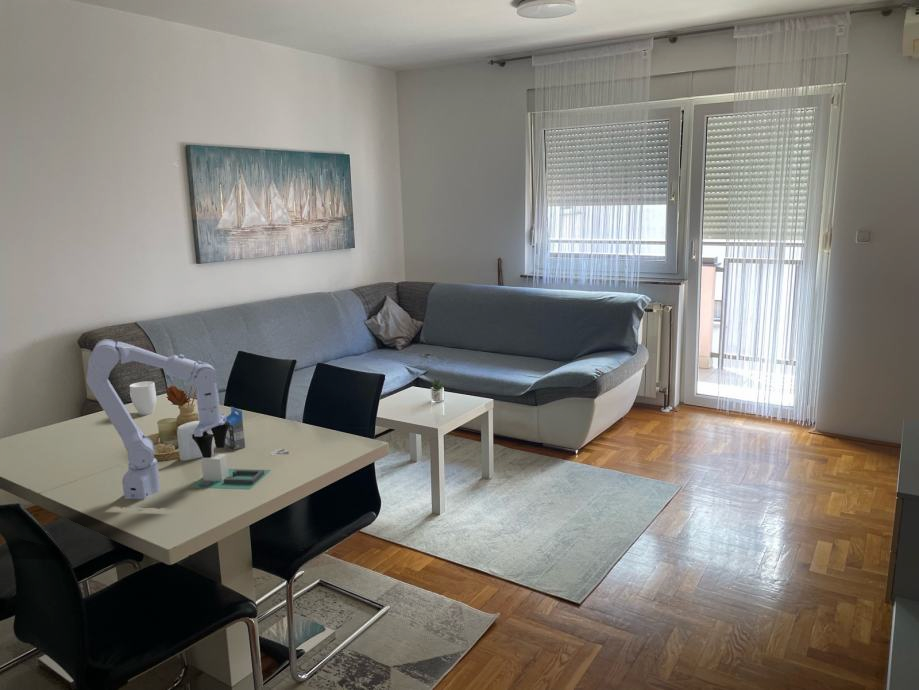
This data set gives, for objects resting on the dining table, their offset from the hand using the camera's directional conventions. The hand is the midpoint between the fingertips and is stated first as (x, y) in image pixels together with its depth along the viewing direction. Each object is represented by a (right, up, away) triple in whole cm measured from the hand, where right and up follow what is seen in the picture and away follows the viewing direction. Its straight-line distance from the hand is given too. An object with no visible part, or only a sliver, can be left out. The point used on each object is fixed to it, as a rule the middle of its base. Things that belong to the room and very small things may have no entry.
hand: (213, 452), depth 197 cm
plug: (0, -8, +1) cm, 8 cm away
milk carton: (-5, -3, +32) cm, 33 cm away
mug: (-54, +4, +74) cm, 91 cm away
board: (+5, -9, +1) cm, 10 cm away
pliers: (+10, -6, +18) cm, 21 cm away
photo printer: (-12, -6, +21) cm, 25 cm away
